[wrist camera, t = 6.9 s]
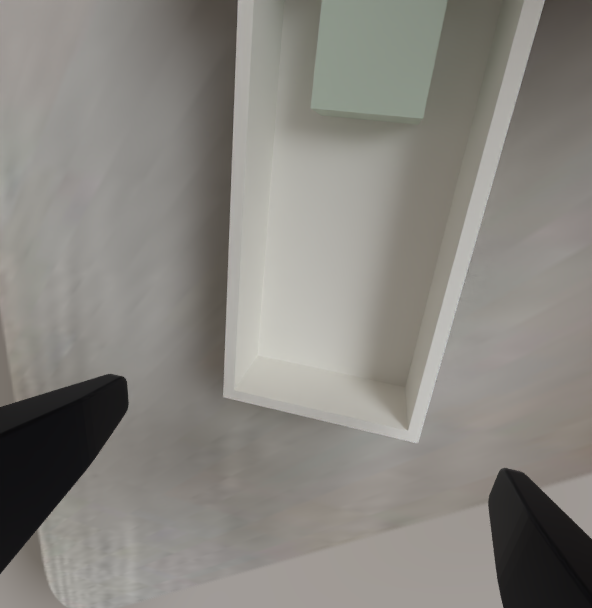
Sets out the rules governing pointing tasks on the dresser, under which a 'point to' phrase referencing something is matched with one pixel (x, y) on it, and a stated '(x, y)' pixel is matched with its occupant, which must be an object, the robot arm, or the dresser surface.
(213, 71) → the dresser surface
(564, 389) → the dresser surface
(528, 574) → the robot arm
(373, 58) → the soap bar
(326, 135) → the tray
